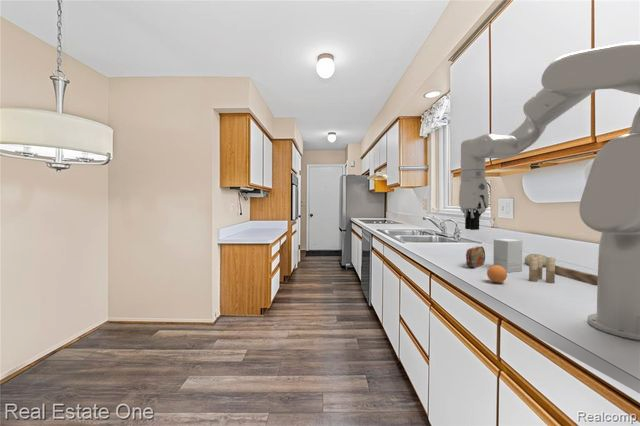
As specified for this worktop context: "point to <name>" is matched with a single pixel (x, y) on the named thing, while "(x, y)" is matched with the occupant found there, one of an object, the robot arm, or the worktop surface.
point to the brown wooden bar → (577, 275)
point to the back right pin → (550, 270)
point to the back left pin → (539, 266)
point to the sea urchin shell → (533, 256)
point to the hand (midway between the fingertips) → (472, 229)
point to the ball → (497, 274)
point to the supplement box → (508, 254)
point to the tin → (475, 257)
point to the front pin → (533, 268)
